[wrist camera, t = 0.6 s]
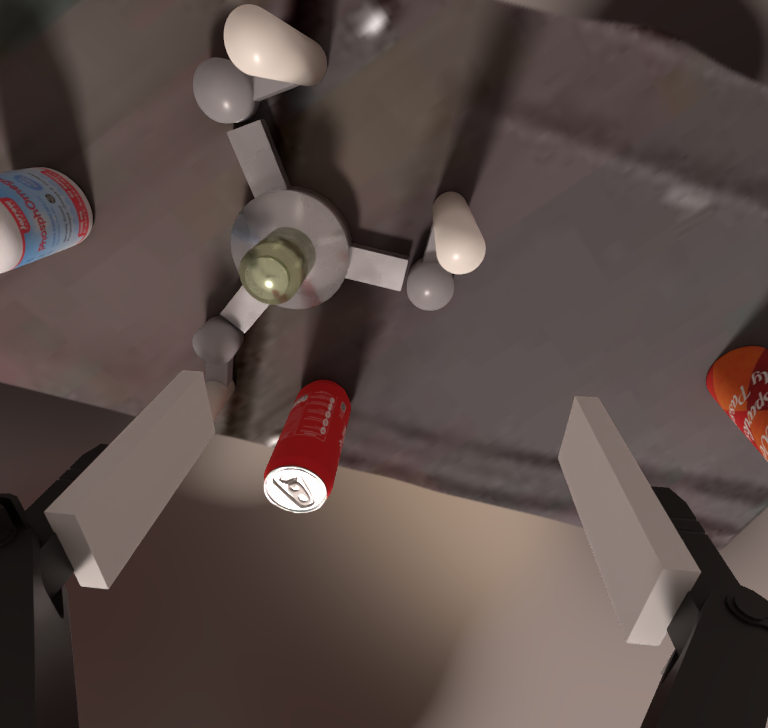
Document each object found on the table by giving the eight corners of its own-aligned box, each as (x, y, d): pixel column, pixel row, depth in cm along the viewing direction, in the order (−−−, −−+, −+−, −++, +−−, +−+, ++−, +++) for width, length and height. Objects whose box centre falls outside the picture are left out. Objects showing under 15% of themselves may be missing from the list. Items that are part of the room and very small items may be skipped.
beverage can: (335, 367, 41) (306, 455, 31) (361, 409, 43) (343, 504, 33) (289, 387, 43) (246, 477, 32) (316, 426, 45) (285, 522, 35)
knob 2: (445, 303, 37) (453, 371, 28) (403, 293, 37) (396, 358, 27) (478, 197, 33) (501, 234, 23) (431, 185, 33) (434, 218, 23)
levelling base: (154, 253, 37) (90, 287, 30) (250, 104, 31) (199, 104, 24) (311, 375, 42) (288, 429, 35) (420, 267, 36) (419, 306, 29)
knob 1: (223, 129, 32) (138, 138, 22) (199, 72, 30) (94, 55, 21) (335, 86, 30) (294, 76, 20) (315, 23, 28) (261, -21, 19)
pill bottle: (111, 230, 36) (-3, 274, 27) (54, 254, 38) (-74, 304, 28) (62, 153, 34) (-85, 171, 24) (2, 181, 35) (-159, 210, 25)
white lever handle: (204, 311, 39) (133, 377, 30) (245, 321, 39) (187, 389, 30) (203, 390, 43) (141, 470, 34) (239, 398, 44) (188, 480, 34)
